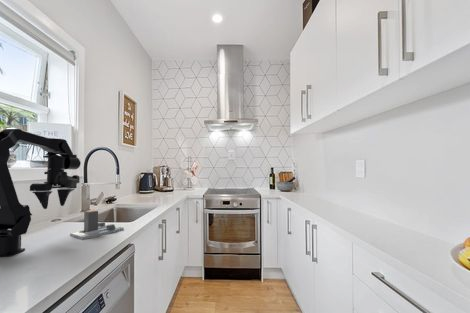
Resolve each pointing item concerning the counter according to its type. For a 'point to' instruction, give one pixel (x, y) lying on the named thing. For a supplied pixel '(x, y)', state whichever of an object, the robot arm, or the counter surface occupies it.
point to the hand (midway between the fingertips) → (54, 207)
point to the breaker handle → (90, 220)
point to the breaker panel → (97, 231)
